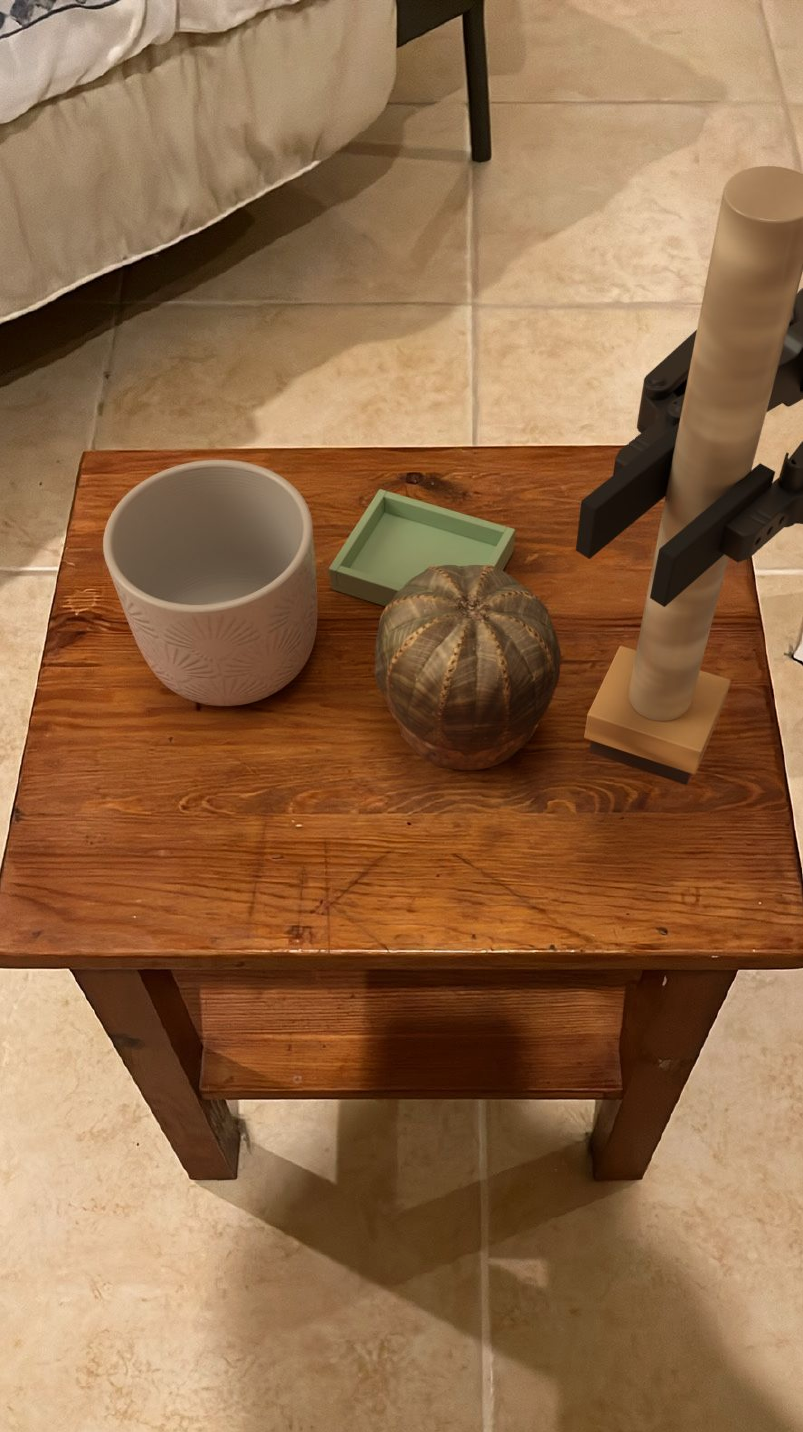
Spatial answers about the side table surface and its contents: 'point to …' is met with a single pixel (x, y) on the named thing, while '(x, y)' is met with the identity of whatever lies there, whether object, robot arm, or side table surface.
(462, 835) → the side table surface
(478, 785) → the side table surface
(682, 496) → the paper towel holder
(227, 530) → the planter
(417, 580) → the brown ribbed round dome
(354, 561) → the tray
